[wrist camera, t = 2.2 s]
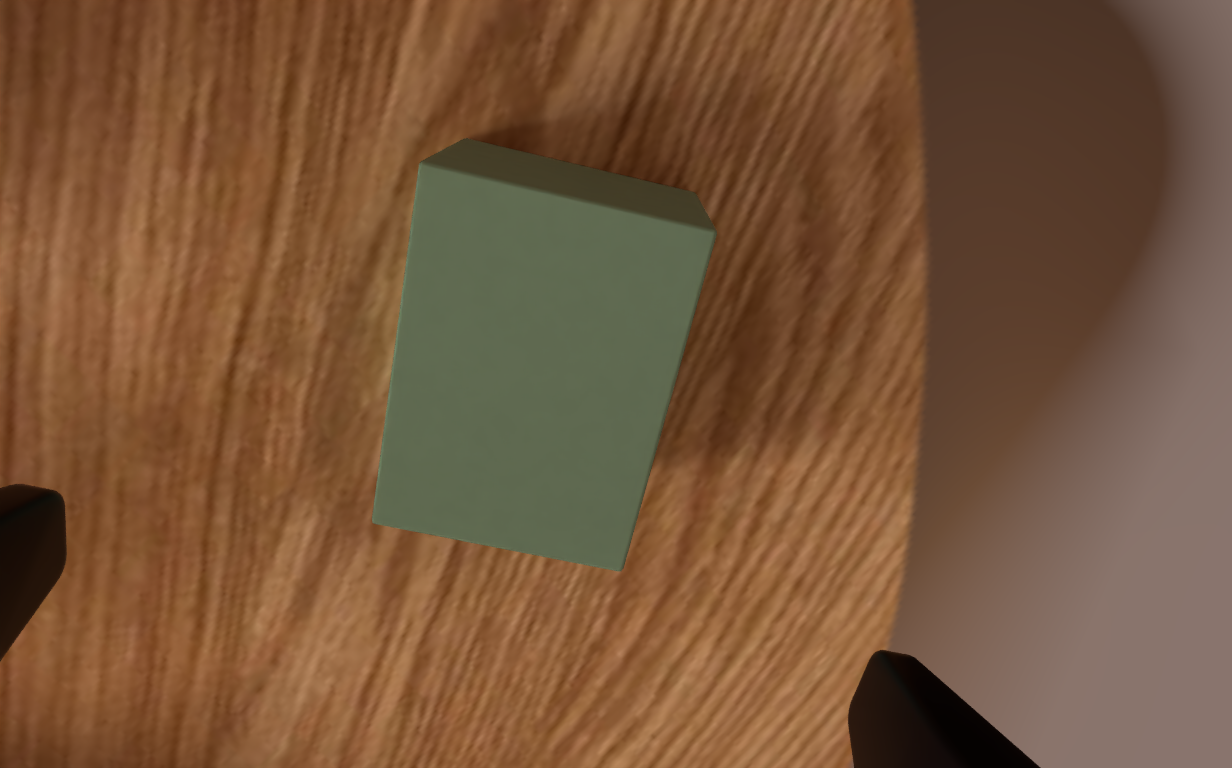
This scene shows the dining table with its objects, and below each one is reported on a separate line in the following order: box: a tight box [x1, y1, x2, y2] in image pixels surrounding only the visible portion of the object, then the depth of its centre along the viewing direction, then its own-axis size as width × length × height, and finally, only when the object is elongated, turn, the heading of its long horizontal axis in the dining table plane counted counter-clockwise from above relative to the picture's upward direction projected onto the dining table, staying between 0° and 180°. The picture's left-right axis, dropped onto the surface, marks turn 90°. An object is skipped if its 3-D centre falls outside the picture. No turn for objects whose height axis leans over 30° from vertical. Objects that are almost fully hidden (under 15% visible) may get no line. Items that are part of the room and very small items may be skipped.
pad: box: [372, 138, 717, 571], centre depth 16 cm, size 5×7×4 cm
